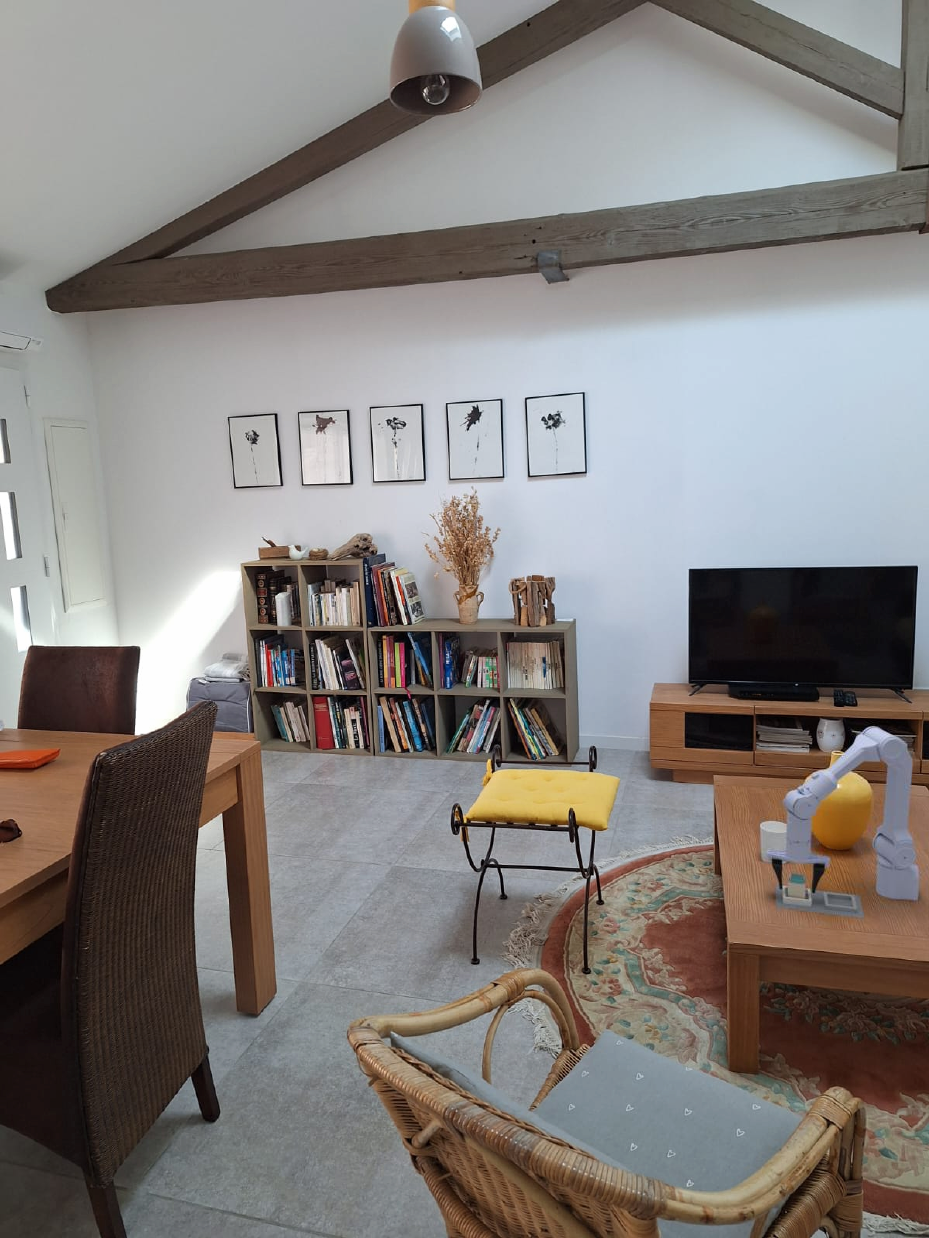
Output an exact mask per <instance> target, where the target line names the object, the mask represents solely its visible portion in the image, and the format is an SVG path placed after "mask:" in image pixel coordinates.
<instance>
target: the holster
mask: <svg viewBox="0 0 929 1238" xmlns="http://www.w3.org/2000/svg"><path fill="white" fill-rule="evenodd" d="M829 892H830V891H825V892H823V898H824V905H825V909H830V910H838V911H846V912H854V913H857V906H856V901H855V897H854V895H855V894H851V895H846V894H847V893H842V894H838V893H839V892H834V893H829ZM827 897H828V898H836V899H845V900H851V903H852V907H849V906H840V905H832V904H828V898H827Z"/></svg>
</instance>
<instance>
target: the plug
mask: <svg viewBox="0 0 929 1238" xmlns="http://www.w3.org/2000/svg"><path fill="white" fill-rule="evenodd" d="M804 876H805V875H804V874H797V873H794V872H793V873H791V875H788V881H787V882H788V883H787V886H788V897H792V898H800V899H805V897H806V889H807V878H806V877H804Z"/></svg>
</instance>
